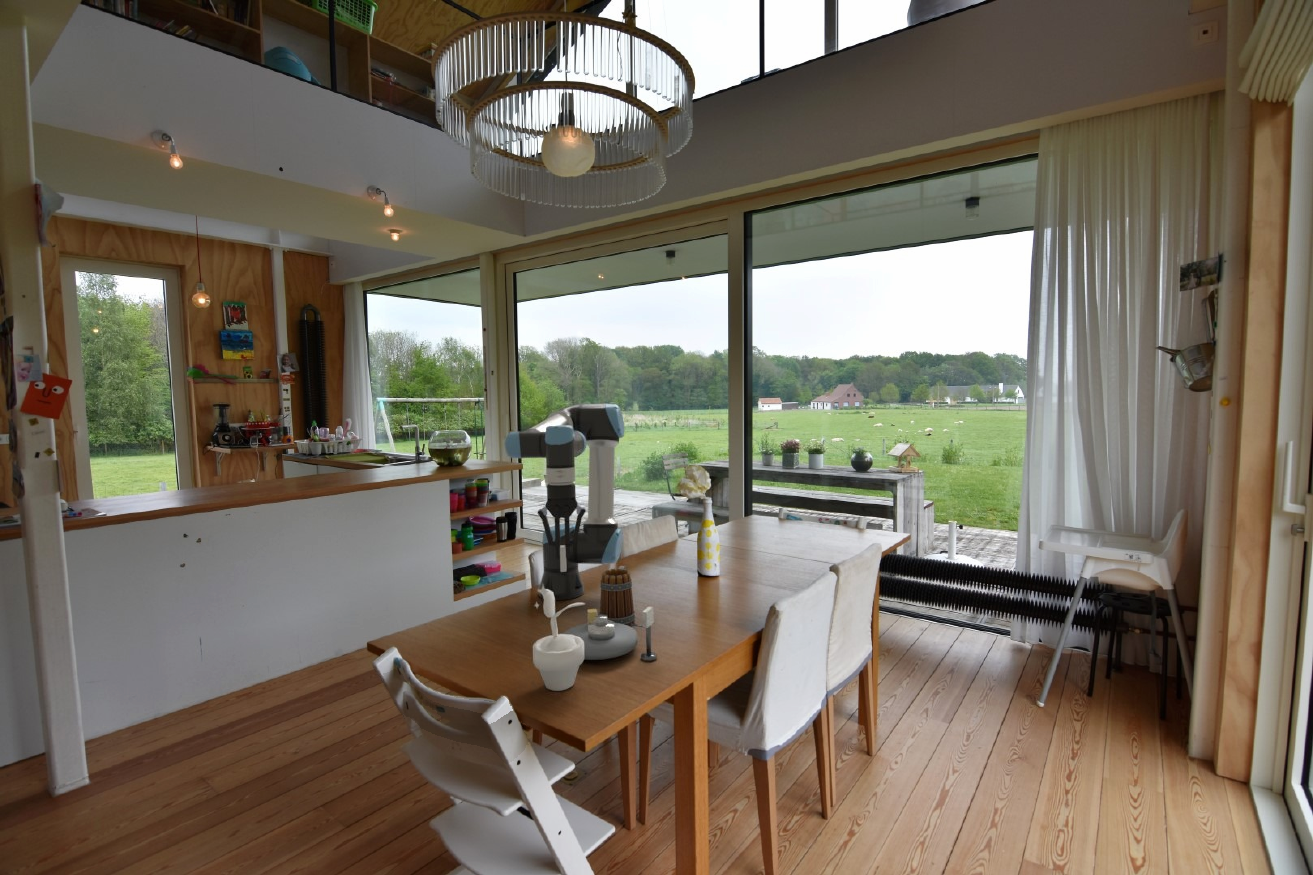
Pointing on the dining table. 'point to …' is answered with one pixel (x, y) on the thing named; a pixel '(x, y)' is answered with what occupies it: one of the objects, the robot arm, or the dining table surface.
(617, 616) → the mug
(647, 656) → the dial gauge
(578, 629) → the turntable
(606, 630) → the cover
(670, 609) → the dining table surface
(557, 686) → the potted plant
